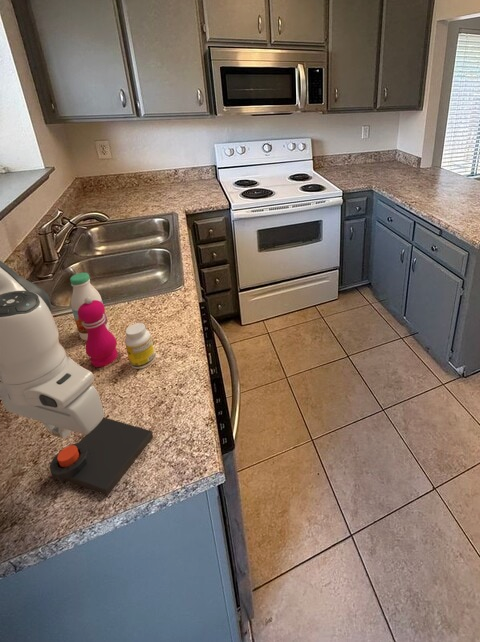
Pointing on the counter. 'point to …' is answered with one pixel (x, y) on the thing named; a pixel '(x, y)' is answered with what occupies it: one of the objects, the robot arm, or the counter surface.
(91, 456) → the black kitchen scale
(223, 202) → the counter surface
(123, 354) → the counter surface
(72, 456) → the button
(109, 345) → the pepper mill
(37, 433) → the counter surface
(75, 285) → the milk bottle
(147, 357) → the pill bottle
